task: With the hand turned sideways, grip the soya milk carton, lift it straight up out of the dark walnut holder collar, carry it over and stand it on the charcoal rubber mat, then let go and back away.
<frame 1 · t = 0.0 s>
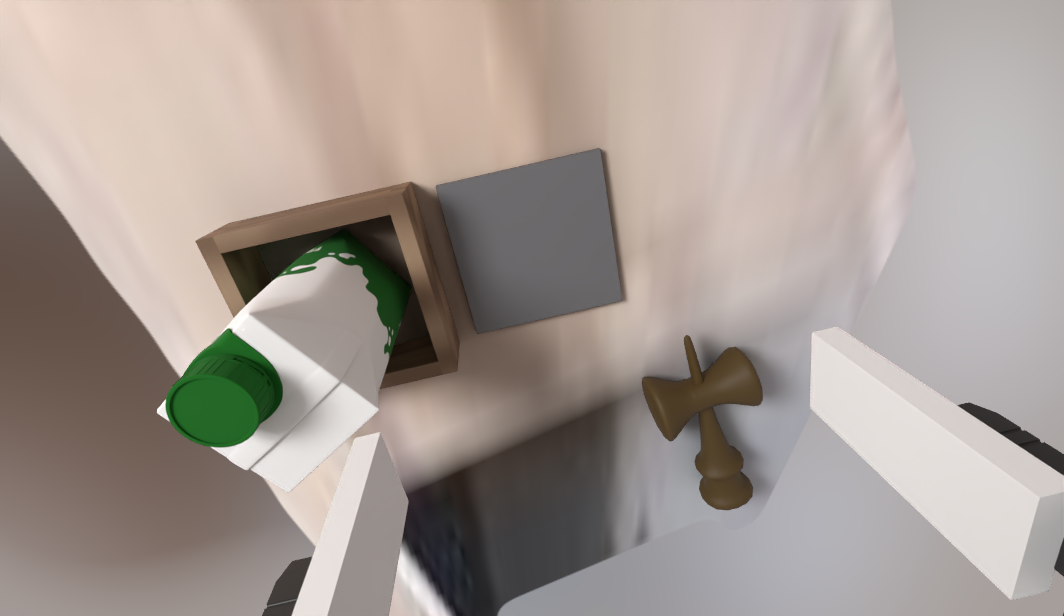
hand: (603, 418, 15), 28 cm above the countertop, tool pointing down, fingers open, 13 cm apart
rubber mat: (534, 245, 42), on the countertop
soya milk: (352, 286, 42), resting in holder collar
holder collar: (352, 287, 42), on the countertop
kendama: (696, 403, 51), on the countertop
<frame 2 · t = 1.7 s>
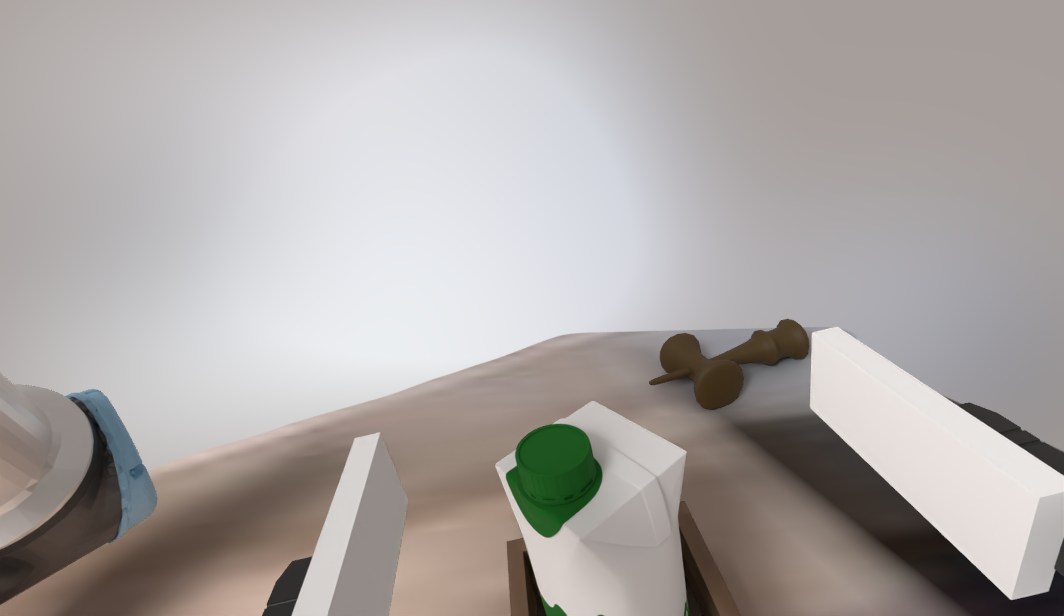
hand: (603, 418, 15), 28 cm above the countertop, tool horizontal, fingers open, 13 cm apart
kendama: (726, 380, 61), on the countertop
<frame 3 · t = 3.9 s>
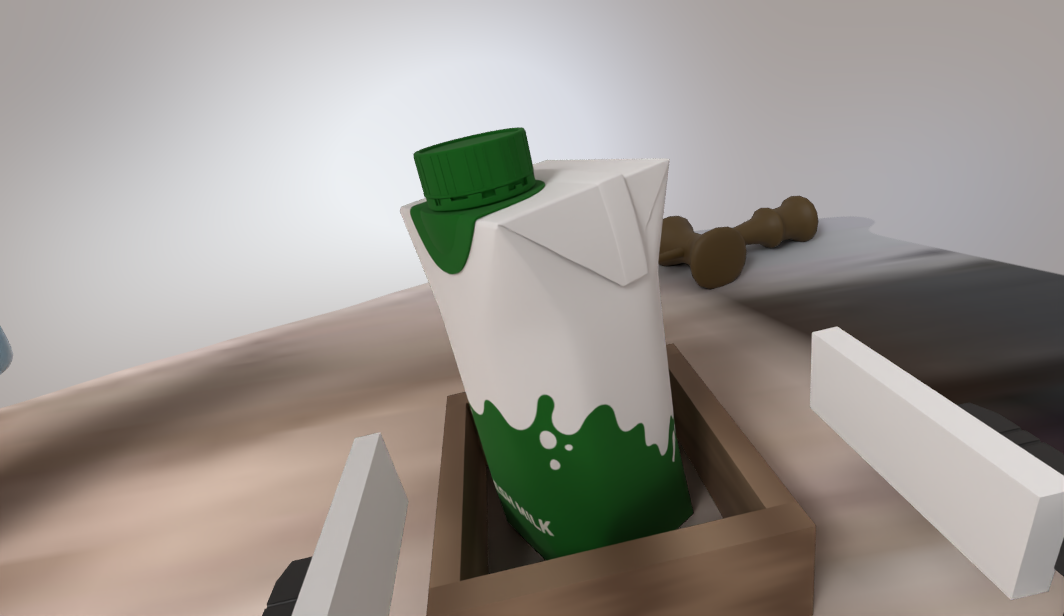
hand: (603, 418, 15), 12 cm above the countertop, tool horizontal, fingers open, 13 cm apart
soya milk: (598, 520, 27), resting in holder collar
holder collar: (598, 517, 27), on the countertop
kendama: (725, 266, 53), on the countertop
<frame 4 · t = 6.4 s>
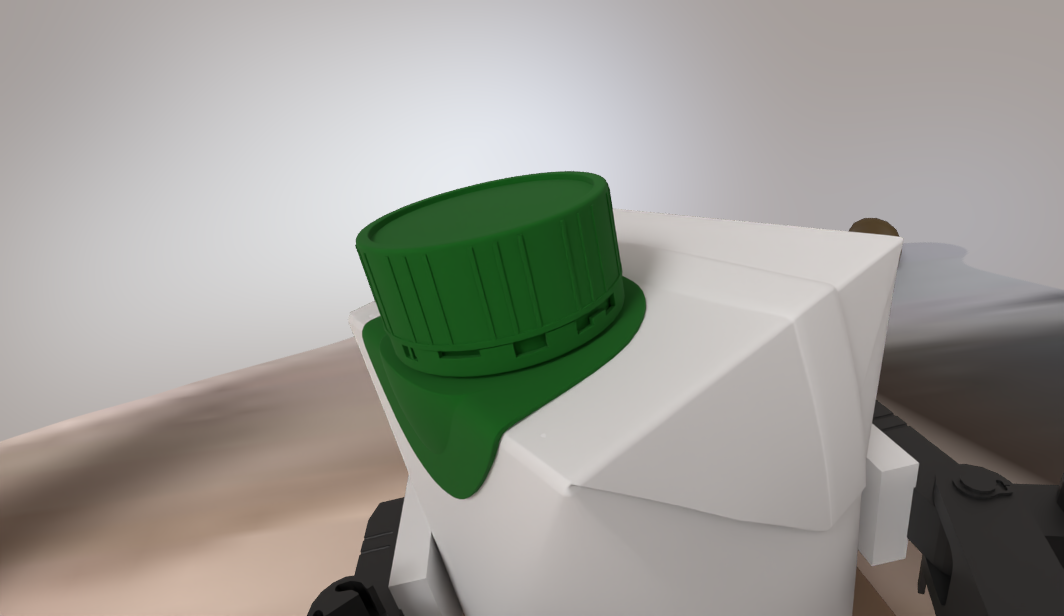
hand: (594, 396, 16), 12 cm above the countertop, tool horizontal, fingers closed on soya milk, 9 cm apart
kendama: (786, 304, 44), on the countertop
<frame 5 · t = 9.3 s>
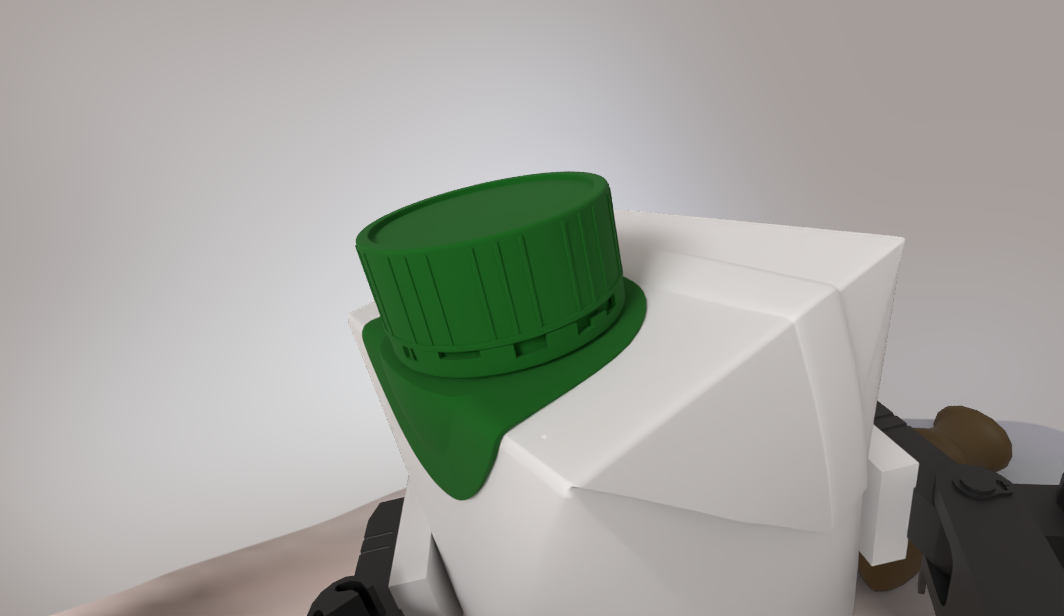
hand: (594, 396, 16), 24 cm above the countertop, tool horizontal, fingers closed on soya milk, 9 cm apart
kendama: (876, 515, 37), on the countertop
when the fingers open (14 cm above the countertop, at t = 12.4 s): soya milk drops 1 cm, resting on rubber mat.
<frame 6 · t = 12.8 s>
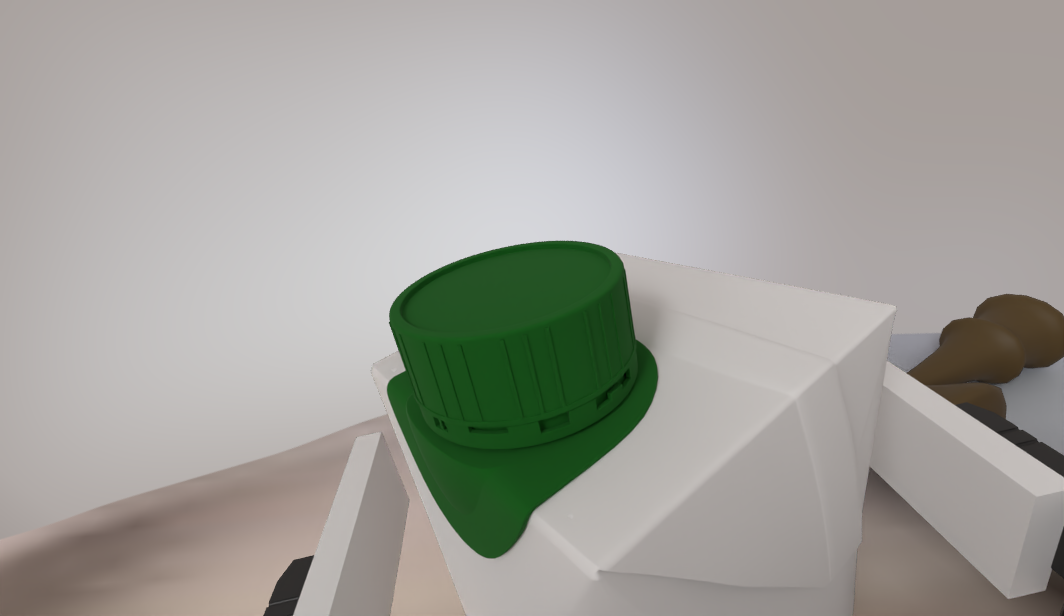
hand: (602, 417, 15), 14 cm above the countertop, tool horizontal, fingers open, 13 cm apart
kendama: (918, 419, 32), on the countertop
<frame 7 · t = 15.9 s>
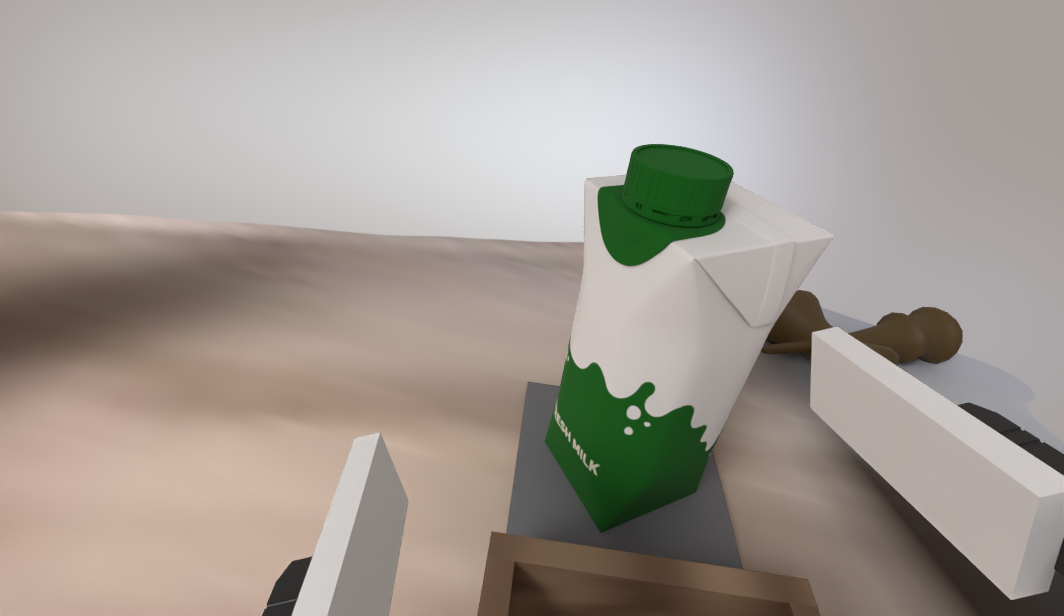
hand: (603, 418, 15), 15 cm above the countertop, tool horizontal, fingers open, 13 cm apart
rubber mat: (616, 472, 32), on the countertop
soya milk: (618, 468, 32), resting on rubber mat
kendama: (839, 367, 45), on the countertop
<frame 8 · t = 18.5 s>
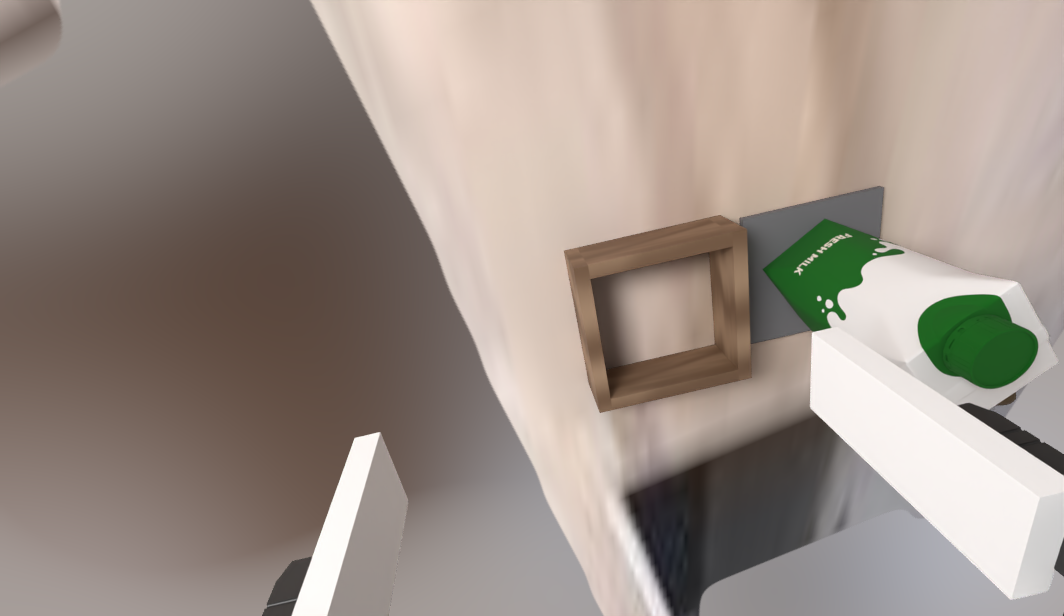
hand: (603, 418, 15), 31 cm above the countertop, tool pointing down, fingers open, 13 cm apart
rubber mat: (807, 268, 48), on the countertop
soya milk: (810, 269, 48), resting on rubber mat
holder collar: (650, 304, 48), on the countertop
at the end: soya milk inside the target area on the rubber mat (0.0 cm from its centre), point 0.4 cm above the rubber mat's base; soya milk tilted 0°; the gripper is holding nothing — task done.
